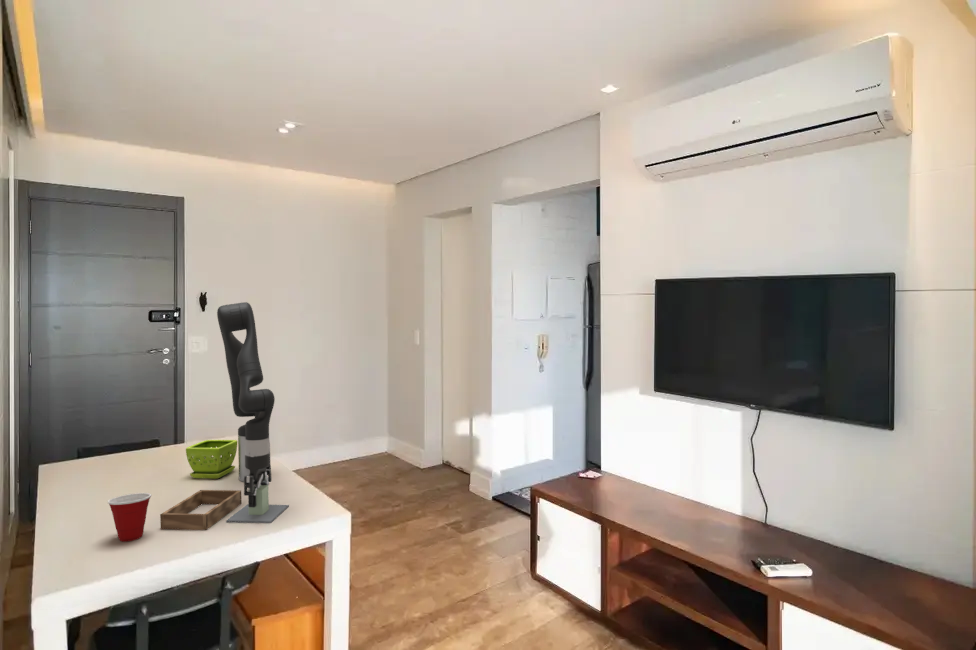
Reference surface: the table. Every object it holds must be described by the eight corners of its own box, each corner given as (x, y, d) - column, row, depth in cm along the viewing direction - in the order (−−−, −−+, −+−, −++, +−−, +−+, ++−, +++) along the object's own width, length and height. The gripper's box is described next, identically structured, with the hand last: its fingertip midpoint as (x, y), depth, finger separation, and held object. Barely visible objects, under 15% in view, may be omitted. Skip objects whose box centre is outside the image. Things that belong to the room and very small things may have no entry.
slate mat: (247, 505, 189) (247, 504, 189) (288, 506, 188) (288, 504, 188) (226, 522, 175) (226, 520, 175) (270, 523, 174) (270, 521, 174)
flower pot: (239, 470, 228) (238, 439, 228) (219, 481, 214) (219, 448, 214) (206, 469, 230) (205, 438, 229) (184, 480, 216) (184, 447, 215)
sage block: (255, 509, 184) (254, 485, 184) (268, 509, 184) (268, 485, 184) (248, 514, 180) (248, 489, 179) (262, 514, 179) (262, 489, 179)
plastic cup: (152, 527, 171) (151, 487, 171) (152, 540, 162) (151, 498, 161) (109, 534, 166) (108, 494, 165) (106, 548, 156) (105, 505, 156)
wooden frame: (200, 503, 192) (200, 489, 191) (241, 503, 191) (241, 490, 191) (160, 529, 170) (160, 514, 169) (206, 530, 169) (206, 515, 169)
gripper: (256, 446, 188) (257, 494, 189) (235, 458, 174) (236, 510, 175) (278, 446, 188) (279, 494, 188) (259, 458, 174) (260, 510, 174)
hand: (258, 502), depth 181 cm, fingers open, 8 cm apart
